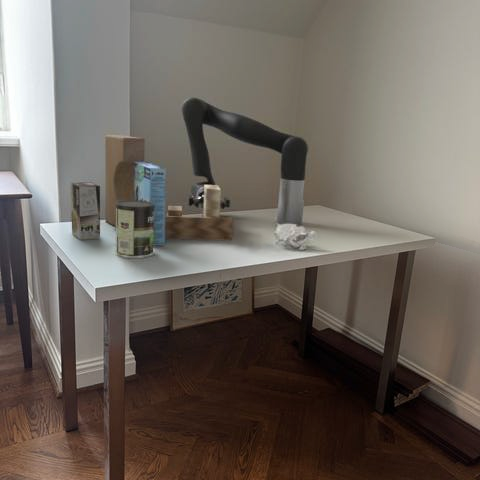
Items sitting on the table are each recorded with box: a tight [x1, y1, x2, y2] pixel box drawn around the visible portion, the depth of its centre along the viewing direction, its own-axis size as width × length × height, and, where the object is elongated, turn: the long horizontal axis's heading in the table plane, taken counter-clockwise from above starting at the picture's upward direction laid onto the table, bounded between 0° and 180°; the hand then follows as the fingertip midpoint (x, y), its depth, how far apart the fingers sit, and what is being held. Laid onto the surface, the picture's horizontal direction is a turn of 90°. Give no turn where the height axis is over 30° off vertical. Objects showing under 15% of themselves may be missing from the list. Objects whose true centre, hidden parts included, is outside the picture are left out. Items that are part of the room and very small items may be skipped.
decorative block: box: [104, 134, 146, 228], centre depth 157 cm, size 15×8×30 cm, turn 37°
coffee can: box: [115, 200, 155, 259], centre depth 128 cm, size 10×10×14 cm
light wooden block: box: [202, 184, 222, 218], centre depth 155 cm, size 4×10×16 cm, turn 8°
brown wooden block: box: [165, 215, 234, 241], centre depth 155 cm, size 23×14×7 cm, turn 98°
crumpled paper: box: [273, 223, 316, 251], centre depth 148 cm, size 12×7×12 cm
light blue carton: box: [134, 161, 167, 246], centre depth 144 cm, size 20×5×23 cm, turn 25°
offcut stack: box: [166, 205, 183, 216], centre depth 154 cm, size 5×10×9 cm, turn 8°
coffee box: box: [70, 181, 101, 241], centre depth 142 cm, size 9×6×16 cm
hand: (210, 205), depth 156 cm, fingers open, 8 cm apart
